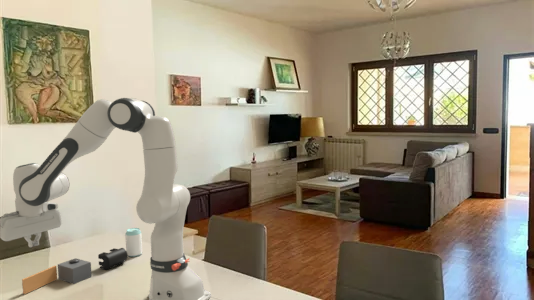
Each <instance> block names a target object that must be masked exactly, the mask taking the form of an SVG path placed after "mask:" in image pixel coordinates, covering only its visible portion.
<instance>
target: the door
mask: <svg viewBox="0 0 534 300" xmlns="http://www.w3.org/2000/svg"><path fill="white" fill-rule="evenodd" d="M56 280H58V267H57V265H52V266H50V267H48V268H46V269H43V270H41V271H39V272H36V273H34V274H32V275H31V274H30V275H29V276H27V277H24V278H22V279H21V281H22V282H21V283H22V284H21V286H22V294H23V295H26V294H29V293H31V292H33V291H34V290H35V291H36V290H38V289H40V288H41V287H43V286H46V285H48V284H51V283H52V282H54V281H56Z"/></svg>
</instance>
